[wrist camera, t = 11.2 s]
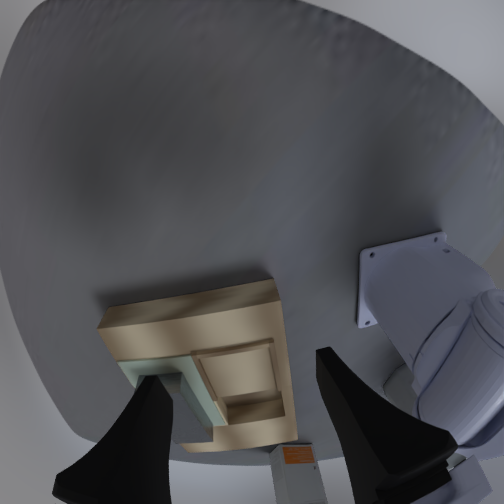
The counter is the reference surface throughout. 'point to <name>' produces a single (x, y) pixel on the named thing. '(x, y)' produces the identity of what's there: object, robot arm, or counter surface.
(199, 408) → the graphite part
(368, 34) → the counter surface
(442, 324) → the robot arm
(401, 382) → the coffee maker
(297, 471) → the skincare box
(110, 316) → the bamboo board
